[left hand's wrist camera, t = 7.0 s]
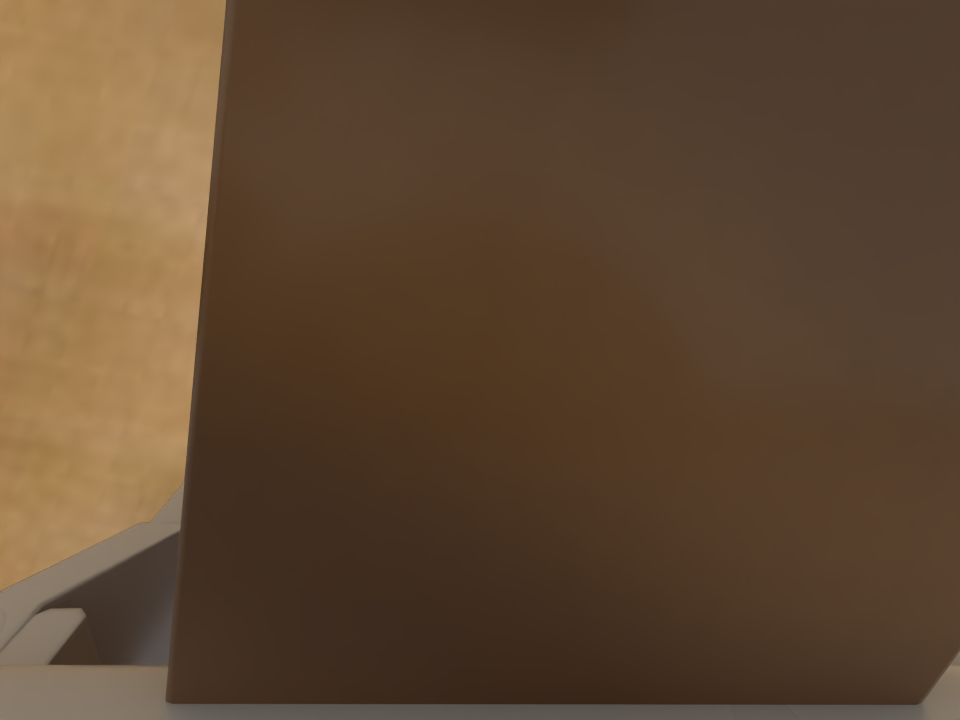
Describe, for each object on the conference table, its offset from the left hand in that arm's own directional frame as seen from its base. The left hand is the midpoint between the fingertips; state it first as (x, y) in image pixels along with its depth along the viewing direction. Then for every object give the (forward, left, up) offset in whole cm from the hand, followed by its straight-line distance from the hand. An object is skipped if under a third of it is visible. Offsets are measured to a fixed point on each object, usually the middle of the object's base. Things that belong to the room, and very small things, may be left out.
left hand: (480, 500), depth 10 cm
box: (+4, +6, -6) cm, 9 cm away
